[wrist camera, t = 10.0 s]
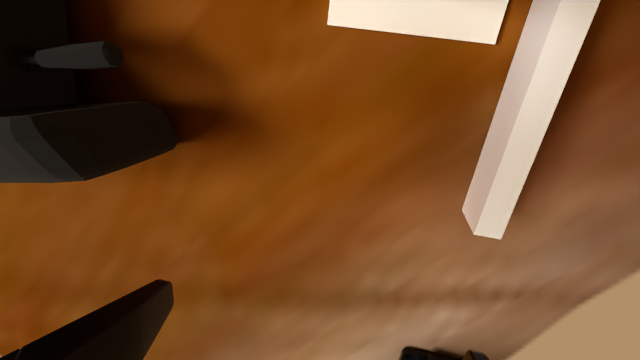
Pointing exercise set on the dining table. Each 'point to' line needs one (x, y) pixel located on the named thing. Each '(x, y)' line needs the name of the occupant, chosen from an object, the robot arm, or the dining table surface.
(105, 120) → the black looped hood device
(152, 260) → the dining table surface
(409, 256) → the dining table surface
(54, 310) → the dining table surface
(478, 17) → the coaster
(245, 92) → the dining table surface
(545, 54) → the low frosted rail
